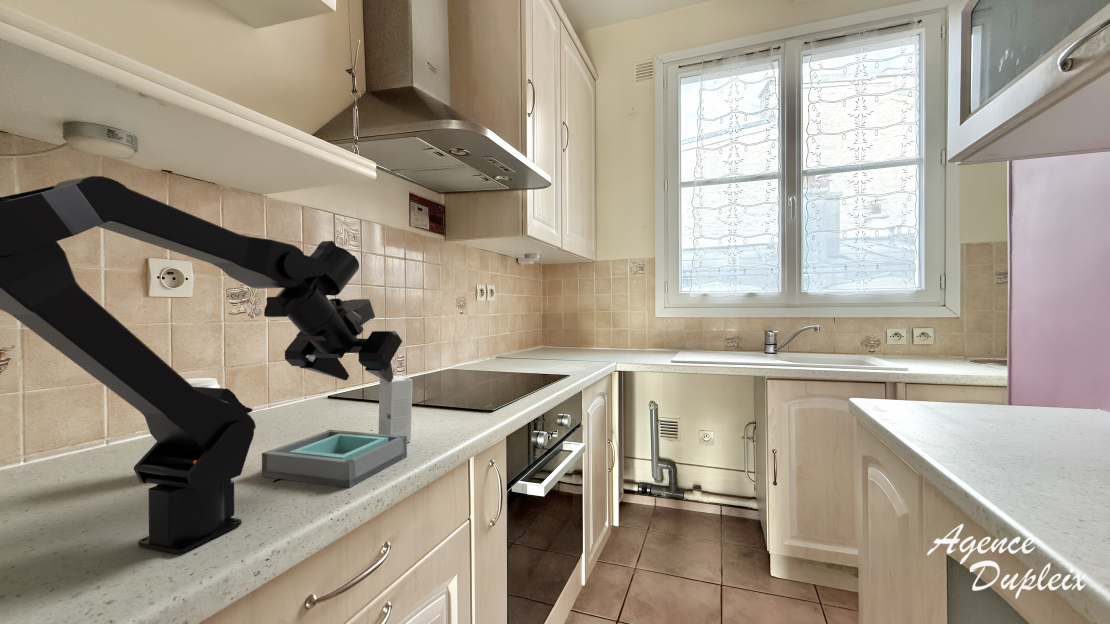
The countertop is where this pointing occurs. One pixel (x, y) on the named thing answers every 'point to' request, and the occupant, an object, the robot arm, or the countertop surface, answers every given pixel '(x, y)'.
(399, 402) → the skincare box
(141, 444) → the countertop surface
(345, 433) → the crate
